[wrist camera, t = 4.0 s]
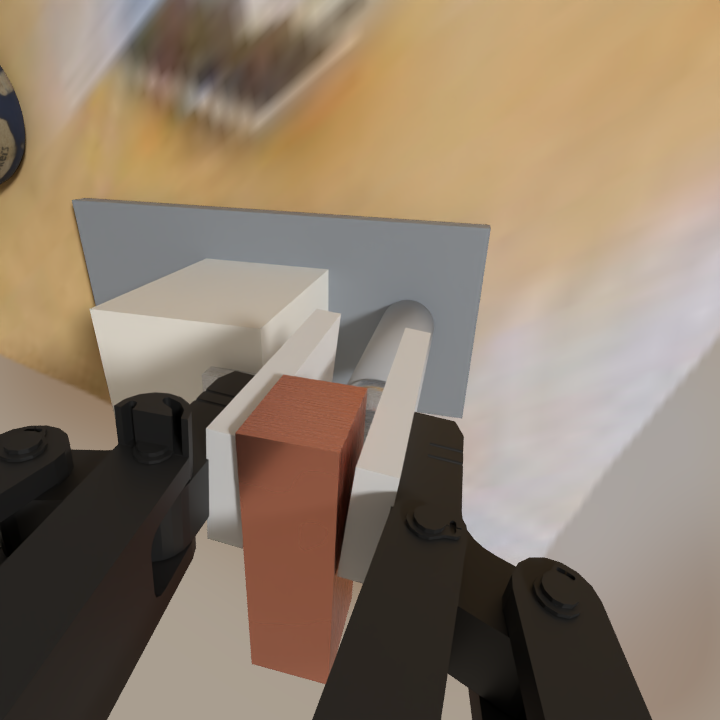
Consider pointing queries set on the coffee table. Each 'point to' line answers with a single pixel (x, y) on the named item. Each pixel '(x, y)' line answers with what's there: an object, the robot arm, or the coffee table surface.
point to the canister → (10, 129)
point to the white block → (202, 324)
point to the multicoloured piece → (299, 515)
